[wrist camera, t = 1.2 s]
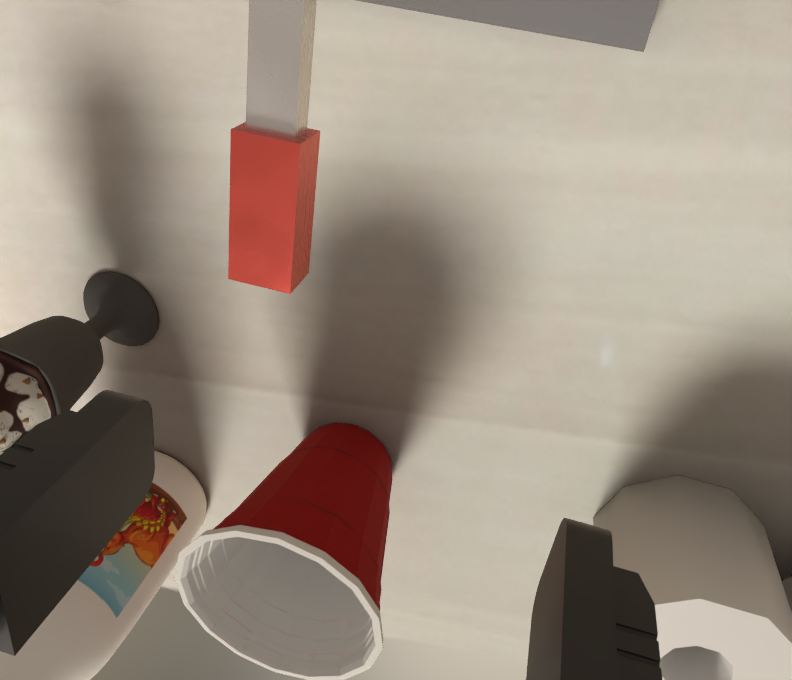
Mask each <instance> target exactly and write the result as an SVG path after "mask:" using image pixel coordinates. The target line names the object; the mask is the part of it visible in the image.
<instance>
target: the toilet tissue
mask: <svg viewBox="0 0 792 680" xmlns="http://www.w3.org/2000/svg"><path fill="white" fill-rule="evenodd" d="M594 526H596V527H600V528H603V529H607V530H610V531H611V533H612V543H613V566H615V567H619V568H622V569H626V570H629V571H633V572H636V573H639V575H640V577H641V579H642V581H643V583H644V585H645V587H646V588H647V590H648V592H649V594H650V596H651V598H652V600H653V602H654V603H655V612H656V621H657V631H658V636H657V641H659V651H660V668H661V671H662V680H792V577H789V578H787V579H785V580H783V581H781V578H780V575H779V572H778V569H777V565H776V562H775V559H774V556H773V553H772V550H771V546H770V543H769V540H768V537H767V534H766V531H765V528H764V525H763V523H762V522H761V521H760V520H759V519H758V518H757V517H756V516H755V515H754V513H753V512H752V511H751V510H750V509H749V508H748V507H747V506H746V505H745V504H744V502H743V501H742V500H741V499H740V498H739V497H738V496H737V495H736V494H735V493H734V491H733V490H731V489H727V488H723V487H720V486H716V485H712V484H708V483H705V482H701V481H697V480H693V479H690V478H686V477H682V476H679V475H676V476H671V477H667V478H662V479H657V480H653V481H648V482H643V483H638V484H634V485H629V486H624V487H623V488H622V489H621V490H620V491H619V492H618V493H617V494H616V495H615V496H614V497H613V498H612V499H611V500H610V501H609V502H608V503H607V504H606V505H605V506H604V507H603V508H602V509H601V510H600V511H599V512H598V513H597V514H596V515H595V516H594Z"/></svg>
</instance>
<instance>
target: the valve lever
mask: <svg viewBox="0 0 792 680" xmlns="http://www.w3.org/2000/svg"><path fill="white" fill-rule="evenodd" d="M316 1H317V0H249V31H248V68H247V105H246V122H245V123H243V124H241V125H239V126H237V127H235V128H233V129H231V154H230V215H229V277H228V279H231V280H235V281H239V282H243V283H248V284H252V285H256V286H260V287H264V288H268V289H272V290H277V291H281V292H285V293H289V294H290V293H291V292H292V291H293V290H294V289H295V288H296V287H297V285H298V284H299V283H300V282H301V281H302V280H303V279H304V277H305V276H306V275H307V274H308V273H309V262H310V250H311V237H312V225H313V213H314V201H315V189H316V177H317V164H318V152H319V140H320V131H318V130H313V129H308V128H307V125H308V111H309V97H310V83H311V70H312V56H313V42H314V28H315V14H316Z"/></svg>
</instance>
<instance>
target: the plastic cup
mask: <svg viewBox="0 0 792 680" xmlns="http://www.w3.org/2000/svg"><path fill="white" fill-rule="evenodd" d="M391 485H392V471H391V458H390V456H389V454H388V452H387V451H386V449H385V447H384V445H383V443H381V442H380V441H379V440H378V439H377V438H376V437H375V436H374V435H372V434H371V433H370V432H369V431H366V430H364V429H362V428H359V427H357V426H355V425H353V424H343V423H332V424H329V425H325V426H321V427H319V428H318V429H317V430H315V431H313V432H312V433H311V434H310V435H309V436H308V437H306V438H305V439H304V440H303V441H302V442H301V443H300V444H299V445H298V446H297V447H296V449H295V450H294V451H293V452H292V453H291V454H290V455H289V456H288V457H286V458H285V459H284V460H283V461H282V462H281V463H279V464H278V466H277V467H276V468H275V469H274V470H273V471H272V472H271V473H270V474H269V475H268V476H267V477H266V478H265V479H264V480H263V481H262V482H261V483H260V485H259V486H258V487H257V488H256V489H255V490H254V491H253V492H252V493H251V494H250V495H249V496H248V497H247V498H246V499H245V500H244V501H243V502H242V504H241V505H240V506H239V507H238V508H237V509H236V510H235V511H234V512H232V513H231V514H230V515H229V516H228V517H226V518H225V519H224V520H223V521H222V522H221V523H220V524H219V525H218V526H217V527H215V528H214V529H213V530H207V531H205V532H204V533H203V534H202V535H200V536H199V537H198V538H197V539H195V540H194V541H193V542H192V543H190V544H189V545H188V546H187V547H185V548H184V549H183V550H182V551H181V552H179V556H178V560H177V565H176V570H175V575H174V578H175V581H176V584H177V586H178V589H179V592H180V595H181V597H182V600H183V603H184V605H185V606H186V607H187V609H188V610H189V611H190V612H191V613H192V615H193V616H194V617H195V618H196V619H197V621H198V622H199V623H200V624H201V626H202V627H203V628H204V629H205V630H206V631H207V632H208V633H209V634H211V635H212V636H213V637H214V638H216V639H217V640H219V641H220V642H221V643H223V644H224V645H225V646H227V647H228V648H229V649H231V650H232V651H233V652H235V653H236V654H237V655H239V656H241V657H243V658H246V659H248V660H250V661H252V662H254V663H256V664H258V665H261V666H263V667H265V668H267V669H269V670H271V671H273V672H277V673H281V674H285V675H290V676H294V677H298V678H302V679H306V680H345V679H347V678H350V677H352V676H354V675H356V674H359V673H361V672H363V671H366V670H368V669H370V668H371V666H372V665H373V663H374V661H375V660H376V658H377V656H378V655H379V653H380V651H381V650H382V648H383V633H382V625H381V617H380V595H381V575H382V567H383V559H384V551H385V544H386V536H387V528H388V520H389V499H390V492H391Z"/></svg>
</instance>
